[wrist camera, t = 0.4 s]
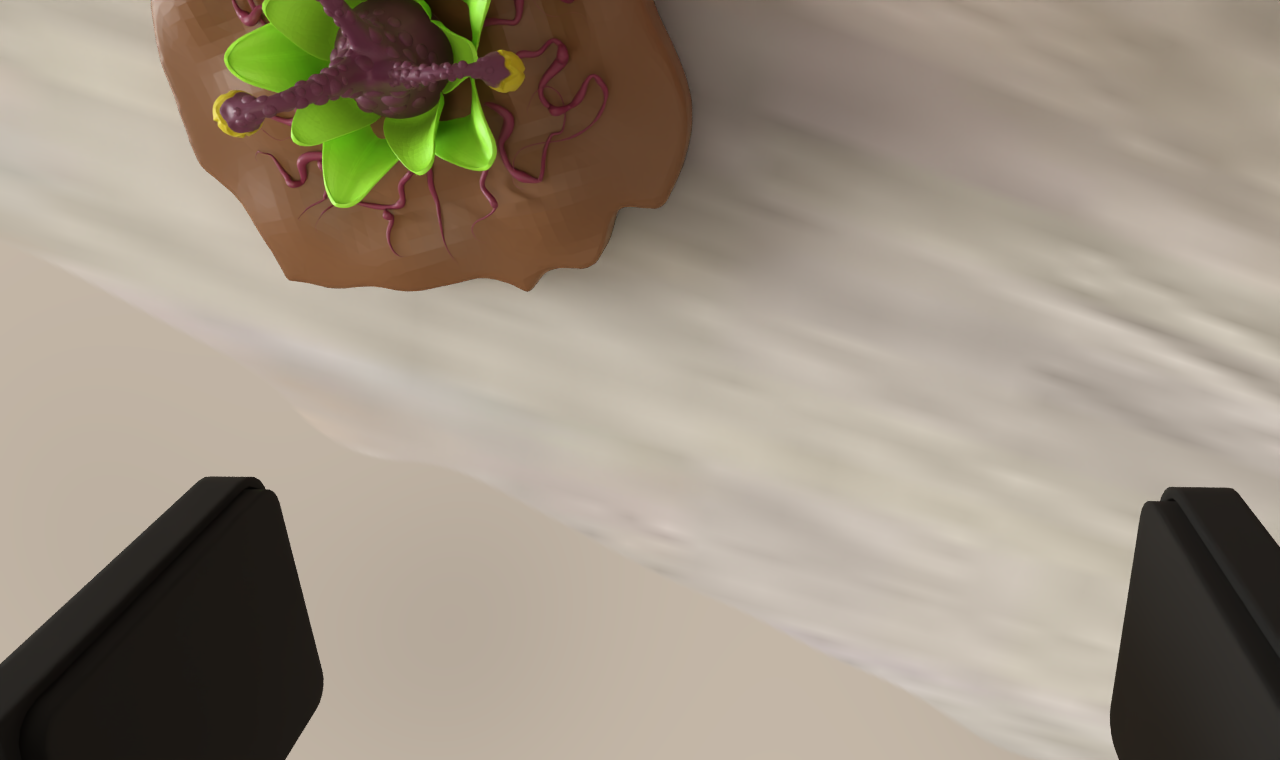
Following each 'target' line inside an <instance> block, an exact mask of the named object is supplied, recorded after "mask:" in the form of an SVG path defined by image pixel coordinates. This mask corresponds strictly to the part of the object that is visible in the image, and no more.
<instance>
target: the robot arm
mask: <svg viewBox="0 0 1280 760" xmlns="http://www.w3.org/2000/svg"><path fill="white" fill-rule="evenodd" d="M322 691H323V672H322V668H321V664H320V660H319V656H318V652H317V648H316V644H315V640H314V636H313V633H312V629H311V625H310V621H309V617H308V613H307V609H306V605H305V601H304V597H303V593H302V589H301V585H300V581H299V578H298V574H297V570H296V566H295V562H294V558H293V554H292V550H291V547H290V542H289V538H288V534H287V530H286V526H285V522H284V519H283V515H282V511H281V507H280V503H279V501H278V498H277V496H276V494H275V493H274V492H273V491H271V490H266V489H265V487H264V485H263V484H262V482H261V481H260V480H259V479H257V478H255V477H204V478H203V479H201V480H199V481H198V482H197V483H196V484H195V485H194V486H193V487H192V488H190V490H188V491H187V492H186V493H185V494H184V495H183V496H182V497H181V498H180V499H179V500H177V501H176V502H175V503H174V504H173V505H172V506H171V507H170V508H169V509H168V510H167V511H166V512H165V513H164V514H162V515H161V516H160V517H159V518H158V519H157V520H156V521H155V522H154V523H153V524H151V525H150V526H149V527H148V528H147V529H146V530H145V531H144V532H143V533H142V534H141V535H140V536H138V537H137V538H136V539H135V540H134V541H133V542H132V543H131V544H130V545H129V546H128V547H127V548H126V549H124V551H122V552H121V553H120V554H119V555H118V556H117V557H116V558H115V559H114V560H112V561H111V562H110V564H108V565H107V566H106V567H105V568H104V569H103V570H102V571H101V572H99V573H98V574H97V575H96V576H95V577H94V578H93V579H92V580H91V581H90V582H89V583H88V584H87V585H85V586H84V587H83V588H82V589H81V590H80V591H79V592H78V593H77V594H76V595H75V596H73V597H72V598H71V599H70V600H69V601H68V602H67V603H66V604H65V605H64V606H63V607H62V608H61V609H59V610H58V611H57V612H56V613H55V614H54V615H53V616H52V617H51V618H50V619H49V620H47V621H46V622H45V623H44V624H43V625H42V626H41V627H40V628H39V629H38V630H37V631H36V632H35V633H33V634H32V635H31V636H30V637H29V638H28V639H27V640H26V641H25V642H24V643H23V644H22V645H20V646H19V647H18V648H17V649H16V650H15V651H14V652H13V653H12V654H11V655H10V656H8V657H7V658H6V659H5V660H4V661H3V662H2V663H1V664H0V760H285V759H286V757H287V756H288V754H289V753H290V751H291V749H292V748H293V746H294V744H295V743H296V741H297V739H298V737H299V736H300V735H301V733H302V731H303V730H304V728H305V726H306V725H307V723H308V722H309V720H310V719H311V717H312V715H313V714H314V712H315V710H316V709H317V707H318V705H319V703H320V700H321V696H322ZM1110 727H1111V735H1112V740H1113V744H1114V747H1115V750H1116V753H1117V755H1118V758H1119V760H1280V547H1279V546H1278V544H1277V543H1276V542H1275V540H1274V539H1273V538H1272V536H1271V535H1270V534H1269V533H1268V531H1267V530H1266V529H1265V527H1264V526H1263V525H1262V524H1261V522H1260V521H1259V520H1258V518H1257V517H1256V516H1255V514H1254V513H1253V512H1252V511H1251V509H1250V508H1249V507H1248V505H1247V504H1246V503H1245V502H1244V500H1243V499H1242V498H1241V496H1240V495H1239V494H1238V493H1237V492H1236V491H1235V490H1234V489H1232V488H1206V487H1169V488H1167V489H1166V490H1165V491H1164V493H1163V495H1162V497H1161V500H1160V501H1147V502H1146V503H1145V504H1144V506H1143V508H1142V511H1141V515H1140V521H1139V527H1138V534H1137V540H1136V547H1135V553H1134V560H1133V566H1132V572H1131V579H1130V585H1129V592H1128V598H1127V605H1126V611H1125V618H1124V624H1123V630H1122V637H1121V643H1120V650H1119V656H1118V663H1117V669H1116V676H1115V682H1114V688H1113V695H1112V701H1111V709H1110Z"/></svg>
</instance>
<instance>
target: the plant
mask: <svg viewBox="0 0 1280 760" xmlns="http://www.w3.org/2000/svg"><path fill="white" fill-rule="evenodd" d="M151 10H152V17H153V24H154V30H155V37H156V43H157V47H158V52H159V56H160V61H161V64H162V67H163V69H164V72H165V74H166V77H167V79H168V82H169V84H170V87H171V89H172V92H173V94H174V97H175V100H176V103H177V106H178V110H179V113H180V115H181V118H182V121H183V123H184V126H185V128H186V131H187V134H188V137H189V141H190V143H191V146H192V148H193V150H194V153H195V155H196V157H197V159H198V161H199V163H200V164H201V166H202V167H203V168H204V169H205V170H206V171H207V172H208V173H209V174H211V175H212V176H213V177H215V178H216V179H217V180H218V181H219V182H220V183H222V184H223V185H224V186H225V187H226V188H227V189H229V190H230V191H231V192H232V193H233V194H234V195H235V196H236V197H237V199H238V200H239V201H240V202H241V203H242V205H243V206H244V208H245V209H246V211H247V213H248V214H249V216H250V217H251V219H252V221H253V223H254V224H255V226H256V228H257V230H258V231H259V233H260V234H261V236H262V237H263V239H264V241H265V242H266V244H267V245H268V247H269V248H270V250H271V251H272V253H273V254H274V256H275V258H276V260H277V261H278V263H279V265H280V267H281V269H282V270H283V272H284V274H285V276H286V278H288V279H289V280H290V281H298V282H305V283H310V284H315V285H319V286H323V287H327V288H352V287H367V286H376V287H382V288H388V289H393V290H399V291H421V290H427V289H432V288H436V287H440V286H446V285H450V284H455V283H459V282H463V281H467V280H471V279H475V278H490V279H496V280H499V281H503V282H506V283H509V284H512V285H514V286H516V287H518V288H520V289H522V290H524V291H527V292H528V291H530V290H532V289H533V288H534V286H535V285H536V284H537V282H538V281H539V280H540V278H541V277H542V276H543V275H544V274H545V273H546V272H548V271H550V270H553V269H557V268H579V269H583V268H587V267H590V266H591V265H593V264H595V263H596V262H597V260H598V259H599V257H600V256H601V254H602V252H603V251H604V249H605V247H606V245H607V244H608V242H609V240H610V237H611V234H612V231H613V228H614V224H615V219H616V215H617V212H618V210H619V209H621V208H624V207H639V208H653V209H656V208H659V207H661V206H662V205H664V204H665V203H666V201H667V199H668V198H669V196H670V194H671V192H672V189H673V187H674V185H675V183H676V181H677V179H678V176H679V174H680V172H681V169H682V167H683V164H684V160H685V157H686V153H687V150H688V146H689V141H690V136H691V130H692V100H691V95H690V90H689V87H688V83H687V80H686V76H685V73H684V70H683V68H682V65H681V63H680V60H679V57H678V55H677V53H676V51H675V48H674V46H673V44H672V42H671V39H670V37H669V35H668V33H667V31H666V29H665V27H664V25H663V23H662V21H661V19H660V16H659V14H658V11H657V9H656V6H655V3H654V0H151Z"/></svg>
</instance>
